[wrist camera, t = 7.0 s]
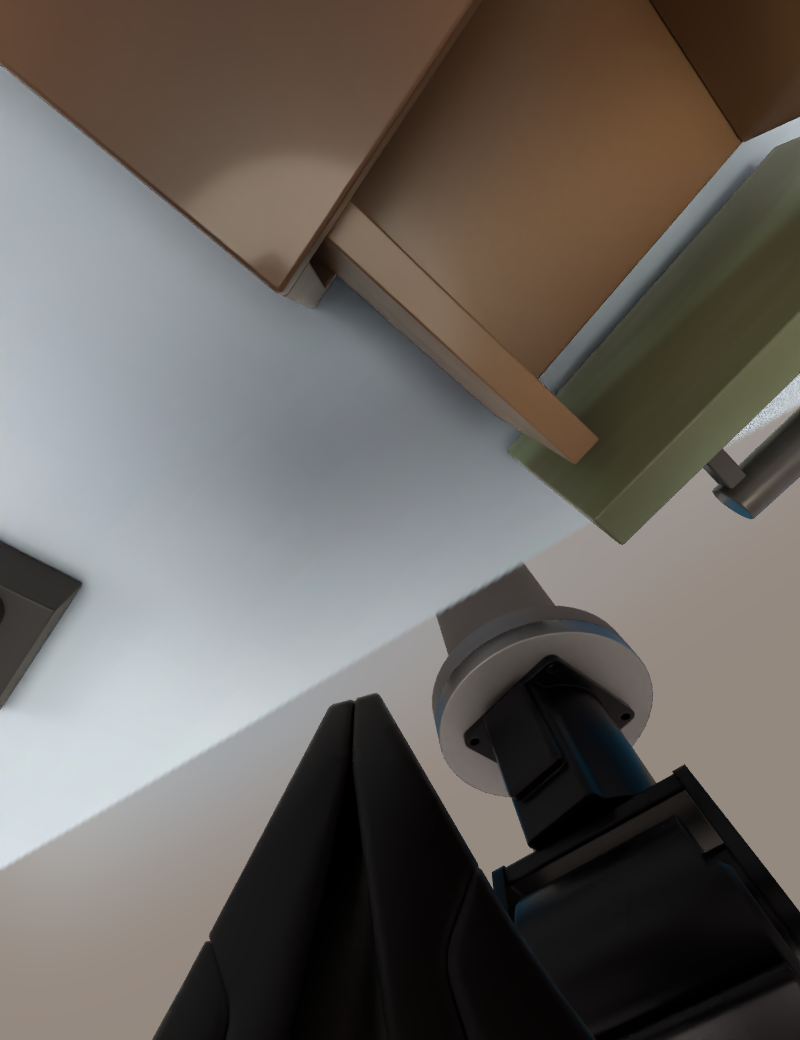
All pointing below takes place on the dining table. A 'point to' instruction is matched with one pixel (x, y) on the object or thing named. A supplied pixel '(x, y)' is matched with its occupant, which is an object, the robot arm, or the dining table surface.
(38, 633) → the raised capsule plate
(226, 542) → the dining table surface
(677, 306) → the drawer
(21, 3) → the cabinet
